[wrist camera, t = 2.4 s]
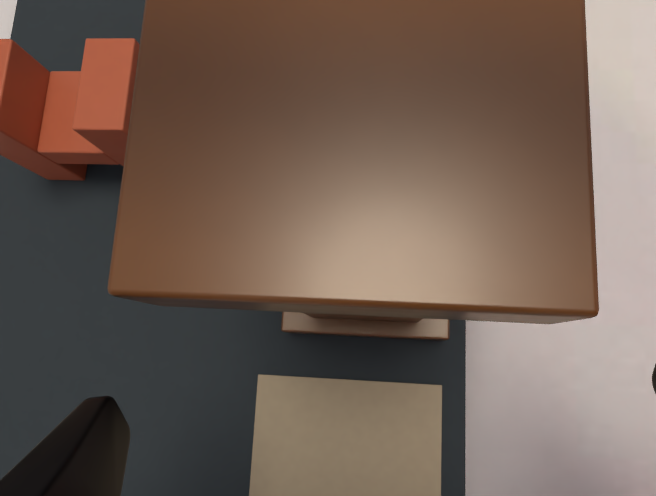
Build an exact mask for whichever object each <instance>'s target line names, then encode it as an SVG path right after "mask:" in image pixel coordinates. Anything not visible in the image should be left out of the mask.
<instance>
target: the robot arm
mask: <svg viewBox="0 0 656 496" xmlns="http://www.w3.org/2000/svg"><path fill="white" fill-rule="evenodd" d="M652 384H653V388H654V391H655V393H656V364H655V368H654V371H653V374H652ZM129 444H130V428H129V425H128V423H127V421H126V419H125V417H124V415H123V413H122V412H121V410H120V408H119V406H118V404H117V402H116V401H115V399H114V398H113V397H111V396H99V397H90V398H87V399H85V400H84V401H83V402H81V403H80V404H79V405H78V406H77V407H76V408H75V409H74V410H73V411H72V412H71V413H70V414H69V415H68V416H67V417H66V418H65V419H64V420H63V421H62V422H60V423H59V424H58V425H57V426H56V427H55V428H54V429H53V430H52V431H51V432H50V433H49V434H48V435H47V436H46V437H45V438H44V439H43V440H42V441H41V442H40V443H38V444H37V445H36V446H35V447H34V448H33V449H32V450H31V451H30V452H29V453H28V454H27V455H26V456H25V457H24V458H23V459H22V460H21V461H20V462H19V463H18V464H16V465H15V466H14V467H13V468H12V469H11V470H10V471H9V472H8V473H7V474H6V475H5V476H4V477H3V478H2V479H1V480H0V496H121V491H122V485H123V479H124V473H125V467H126V462H127V456H128V450H129Z"/></svg>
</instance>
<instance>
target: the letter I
mask: <svg viewBox="0 0 656 496" xmlns="http://www.w3.org/2000/svg"><path fill="white" fill-rule="evenodd" d="M107 289H108V293H109V294H110V295H112V296H114V297H119V298H124V299H129V300H134V301H138V302H143V303H148V304H153V305H158V306H171V307H193V308H214V309H236V310H257V311H279V312H282V322H281V331H283V332H287V333H300V334H320V335H340V336H360V337H379V338H399V339H419V340H439V341H443V340H448V339H449V326H450V320H472V321H493V322H515V323H536V324H554V323H561V322H567V321H574V320H581V319H587V318H592V317H595V316H597V314H598V311H599V303H598V281H597V259H596V238H595V216H594V194H593V172H592V150H591V128H590V106H589V84H588V63H587V41H586V19H585V0H145V7H144V15H143V23H142V30H141V38H140V45H139V53H138V60H137V68H136V76H135V83H134V91H133V98H132V106H131V113H130V121H129V128H128V136H127V144H126V151H125V159H124V166H123V174H122V181H121V189H120V196H119V204H118V212H117V219H116V227H115V234H114V242H113V249H112V257H111V265H110V272H109V280H108V287H107Z"/></svg>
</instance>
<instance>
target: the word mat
mask: <svg viewBox="0 0 656 496" xmlns="http://www.w3.org/2000/svg"><path fill="white" fill-rule="evenodd" d="M144 7H145V0H18V1H17V6H16V12H15V17H14V22H13V28H12V33H11V39H12V40H13V41H14V42H16V43H17V44H18V45H19V46H20V47H21V48H23V49H24V50H25V51H26V52H27V53H28V54H30V55H31V56H32V57H33V58H34V59H35V60H37V61H38V62H39V63H40V64H41V65H42V66H44V67H45V68H46V69H47V70H48V71H49V72H51V71H81V67H82V60H83V54H84V47H85V41H86V39H87V38H134V39H136V41H137V42H138V43H139V45H140V38H141V30H142V23H143V15H144ZM122 174H123V166H122V165H121V164H118V165H109V164H87V169H86V176H85V180H83V181H81V180H47V179H45V178H44V177H42V176H40V175H38V174H36V173H34V172H32V171H30V170H28V169H26V168H24V167H22V166H21V165H19V164H17V163H15V162H13V161H11V160H9V159H7V158H5V157H3V156H1V155H0V480H1V479H2V478H3V477H4V476H5V475H6V474H7V473H8V472H9V471H10V470H11V469H12V468H13V467H14V466H15V465H16V464H18V463H19V462H20V461H21V460H22V459H23V458H24V457H25V456H26V455H27V454H28V453H29V452H30V451H31V450H32V449H33V448H34V447H35V446H36V445H37V444H38V443H40V442H41V441H42V440H43V439H44V438H45V437H46V436H47V435H48V434H49V433H50V432H51V431H52V430H53V429H54V428H55V427H56V426H57V425H58V424H59V423H60V422H62V421H63V420H64V419H65V418H66V417H67V416H68V415H69V414H70V413H71V412H72V411H73V410H74V409H75V408H76V407H77V406H78V405H79V404H80V403H81V402H83V401H84V400H85V399H87V398H90V397H99V396H111V397H113V398H114V399H115V401H116V402H117V404H118V406H119V408H120V410H121V412H122V413H123V415H124V417H125V419H126V421H127V423H128V425H129V428H130V444H129V450H128V456H127V462H126V467H125V473H124V479H123V485H122V491H121V496H465V320H450V326H449V339H448V340H443V341H439V340H419V339H399V338H379V337H360V336H340V335H320V334H300V333H287V332H283V331H281V322H282V312H279V311H257V310H236V309H214V308H193V307H171V306H158V305H153V304H148V303H143V302H138V301H134V300H129V299H124V298H119V297H114V296H112V295H110V294H109V293H108V289H107V287H108V280H109V272H110V265H111V257H112V249H113V242H114V234H115V227H116V219H117V212H118V204H119V196H120V189H121V181H122Z"/></svg>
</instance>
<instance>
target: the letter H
mask: <svg viewBox="0 0 656 496" xmlns="http://www.w3.org/2000/svg"><path fill="white" fill-rule="evenodd" d="M138 53H139V43H138V42H137V41H136V39H134V38H87V39H86V41H85V47H84V54H83V60H82V67H81V71H51V72H49V71H48V70H47V69H46V68H45V67H44V66H42V65H41V64H40V63H39V62H38V61H37V60H35V59H34V58H33V57H32V56H31V55H30V54H28V53H27V52H26V51H25V50H24V49H23V48H21V47H20V46H19V45H18V44H17V43H16V42H14V41H13V40H12V39H0V155H1V156H3V157H5V158H7V159H9V160H11V161H13V162H15V163H17V164H19V165H21V166H22V167H24V168H26V169H28V170H30V171H32V172H34V173H36V174H38V175H40V176H42V177H44V178H45V179H47V180H81V181H83V180H85V176H86V169H87V164H109V165H118V164H121V165H122V166H124V159H125V151H126V144H127V136H128V128H129V121H130V113H131V106H132V98H133V91H134V83H135V76H136V68H137V60H138Z"/></svg>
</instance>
